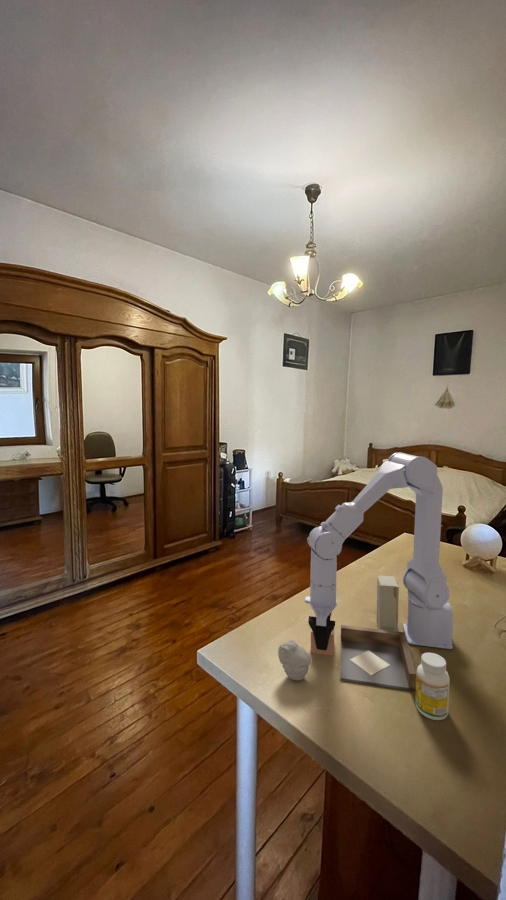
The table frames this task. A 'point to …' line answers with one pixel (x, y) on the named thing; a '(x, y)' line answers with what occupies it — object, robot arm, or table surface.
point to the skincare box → (387, 603)
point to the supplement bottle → (432, 687)
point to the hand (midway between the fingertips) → (322, 638)
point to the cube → (329, 649)
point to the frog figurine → (294, 660)
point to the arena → (376, 658)
